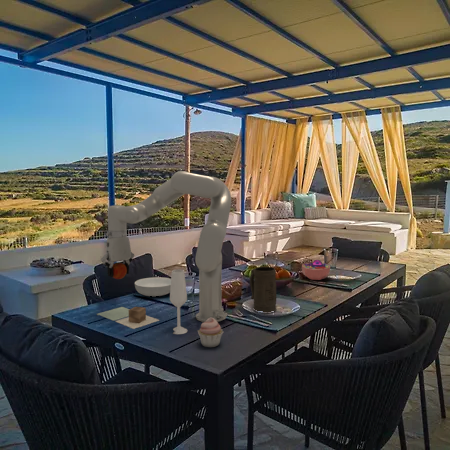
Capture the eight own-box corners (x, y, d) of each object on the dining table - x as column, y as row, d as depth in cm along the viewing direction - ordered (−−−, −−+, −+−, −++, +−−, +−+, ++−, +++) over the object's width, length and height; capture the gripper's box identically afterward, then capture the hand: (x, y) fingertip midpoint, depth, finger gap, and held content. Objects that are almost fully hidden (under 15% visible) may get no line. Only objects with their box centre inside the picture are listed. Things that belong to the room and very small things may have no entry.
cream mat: (159, 321, 163) (159, 320, 163) (133, 330, 154) (133, 328, 154) (140, 315, 172) (140, 313, 172) (115, 323, 162) (114, 321, 162)
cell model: (296, 280, 232) (296, 262, 230) (308, 274, 249) (308, 256, 247) (324, 284, 223) (324, 265, 222) (334, 277, 240) (335, 259, 239)
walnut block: (145, 319, 164) (145, 307, 164) (139, 323, 160) (138, 311, 159) (135, 318, 166) (135, 306, 165) (128, 321, 161) (128, 310, 161)
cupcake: (203, 351, 135) (203, 323, 134) (193, 341, 143) (193, 315, 142) (228, 346, 139) (228, 319, 138) (217, 337, 147) (217, 311, 146)
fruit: (130, 278, 172) (129, 260, 171) (118, 281, 166) (118, 262, 165) (118, 276, 175) (118, 258, 175) (106, 279, 169) (106, 261, 169)
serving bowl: (180, 297, 198) (180, 284, 198) (138, 302, 191) (138, 288, 190) (170, 287, 218) (170, 275, 217) (132, 291, 210) (131, 278, 209)
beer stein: (282, 309, 179) (280, 267, 177) (268, 315, 171) (266, 271, 170) (256, 305, 189) (254, 264, 188) (242, 310, 181) (240, 268, 180)
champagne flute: (166, 331, 154) (165, 270, 151) (180, 326, 158) (179, 268, 156) (177, 335, 149) (176, 273, 146) (191, 331, 153) (190, 270, 151)
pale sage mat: (139, 314, 173) (139, 312, 173) (113, 322, 163) (113, 320, 163) (122, 308, 181) (122, 306, 181) (96, 315, 171) (96, 313, 171)
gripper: (104, 237, 160) (105, 280, 161) (139, 233, 172) (140, 272, 174) (94, 235, 165) (95, 277, 166) (129, 231, 177) (130, 270, 179)
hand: (118, 274), depth 170 cm, fingers closed on fruit, 7 cm apart
